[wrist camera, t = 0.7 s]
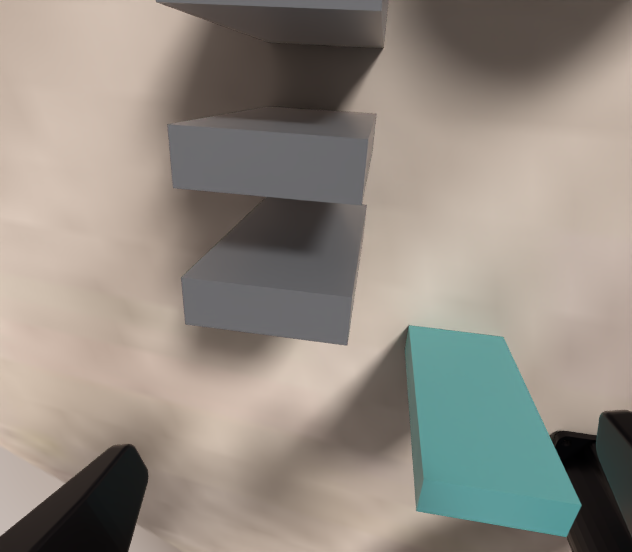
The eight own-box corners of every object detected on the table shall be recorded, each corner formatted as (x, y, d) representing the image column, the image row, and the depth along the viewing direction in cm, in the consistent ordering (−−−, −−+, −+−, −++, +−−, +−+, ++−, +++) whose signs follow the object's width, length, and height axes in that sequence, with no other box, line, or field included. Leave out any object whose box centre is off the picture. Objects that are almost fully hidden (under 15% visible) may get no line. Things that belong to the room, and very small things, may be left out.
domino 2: (372, 150, 20) (361, 205, 11) (268, 142, 20) (173, 188, 11) (376, 113, 19) (368, 139, 10) (268, 106, 19) (167, 124, 10)
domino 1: (383, 48, 18) (381, 11, 9) (268, 42, 18) (156, 2, 9) (388, 3, 17) (391, -87, 8) (269, -1, 18) (147, -89, 9)
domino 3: (363, 235, 21) (346, 345, 12) (267, 225, 22) (185, 324, 13) (366, 204, 21) (351, 297, 12) (267, 195, 21) (181, 277, 12)
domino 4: (496, 361, 23) (566, 537, 14) (404, 349, 24) (416, 510, 15) (503, 336, 22) (581, 505, 13) (408, 325, 23) (423, 479, 14)
